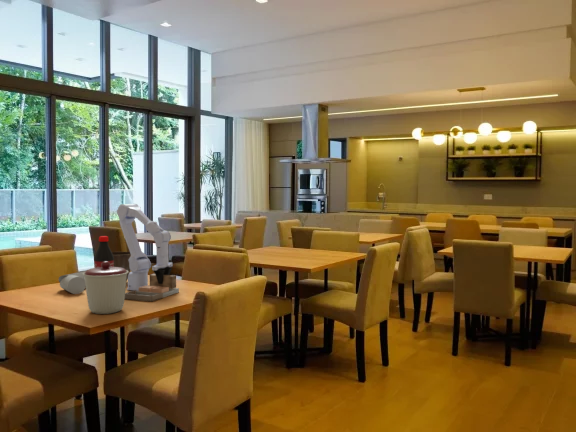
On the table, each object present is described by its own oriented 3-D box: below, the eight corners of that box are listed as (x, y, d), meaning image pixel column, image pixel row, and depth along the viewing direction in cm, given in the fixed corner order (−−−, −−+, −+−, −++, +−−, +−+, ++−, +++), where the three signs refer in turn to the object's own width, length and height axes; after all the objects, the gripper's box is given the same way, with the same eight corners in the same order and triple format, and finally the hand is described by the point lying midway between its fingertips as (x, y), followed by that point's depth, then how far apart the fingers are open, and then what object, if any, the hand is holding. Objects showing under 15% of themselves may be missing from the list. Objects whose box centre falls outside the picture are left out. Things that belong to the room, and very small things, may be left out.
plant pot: (98, 283, 283) (98, 253, 282) (121, 279, 295) (121, 250, 294) (116, 286, 274) (115, 255, 273) (139, 281, 286) (138, 252, 286)
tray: (123, 298, 243) (123, 293, 243) (134, 295, 250) (134, 290, 250) (152, 301, 237) (152, 296, 237) (162, 298, 245) (162, 292, 245)
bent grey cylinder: (51, 286, 266) (63, 293, 250) (55, 266, 267) (67, 271, 251) (86, 290, 277) (99, 296, 261) (90, 270, 278) (103, 275, 262)
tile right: (150, 292, 248) (150, 288, 248) (158, 289, 254) (158, 286, 254) (161, 293, 246) (161, 289, 246) (168, 290, 252) (168, 287, 252)
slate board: (135, 295, 250) (135, 291, 250) (153, 290, 263) (153, 286, 263) (162, 297, 245) (162, 293, 245) (178, 292, 258) (178, 288, 258)
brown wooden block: (149, 286, 259) (149, 274, 259) (153, 285, 262) (153, 273, 262) (172, 288, 254) (171, 276, 254) (176, 287, 258) (176, 275, 257)
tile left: (138, 291, 251) (138, 287, 251) (146, 288, 256) (146, 285, 256) (149, 292, 249) (149, 288, 249) (156, 289, 254) (156, 286, 254)
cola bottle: (96, 305, 229) (94, 237, 227) (93, 301, 237) (92, 235, 235) (116, 303, 233) (115, 236, 231) (113, 299, 240) (111, 234, 239)
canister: (135, 312, 216) (134, 262, 215) (89, 319, 206) (88, 265, 205) (121, 304, 231) (120, 257, 230) (78, 310, 220) (77, 260, 219)
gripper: (160, 257, 249) (161, 286, 250) (177, 254, 263) (177, 281, 263) (148, 257, 252) (148, 285, 253) (165, 253, 265) (166, 280, 266)
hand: (162, 282), depth 258 cm, fingers closed on brown wooden block, 3 cm apart
